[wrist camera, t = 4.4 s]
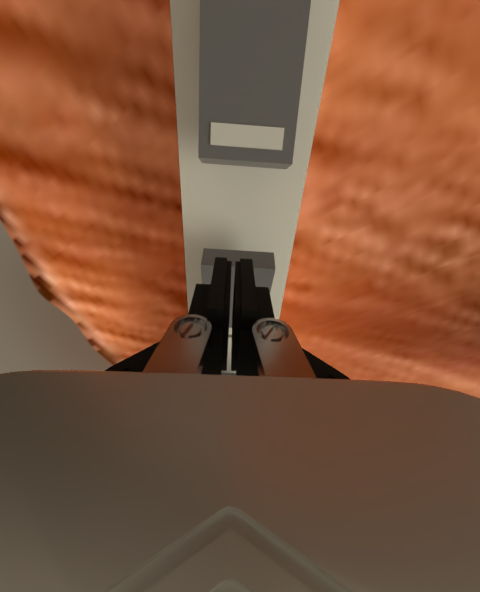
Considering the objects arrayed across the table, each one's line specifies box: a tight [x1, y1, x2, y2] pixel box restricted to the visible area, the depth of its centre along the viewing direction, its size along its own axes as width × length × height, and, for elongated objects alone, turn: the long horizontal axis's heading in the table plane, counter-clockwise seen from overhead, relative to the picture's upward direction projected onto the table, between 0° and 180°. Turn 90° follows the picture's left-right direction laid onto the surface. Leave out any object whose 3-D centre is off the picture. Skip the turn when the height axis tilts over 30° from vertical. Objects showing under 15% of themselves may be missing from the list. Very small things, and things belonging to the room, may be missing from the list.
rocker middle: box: [201, 248, 275, 338], centre depth 17 cm, size 7×4×2 cm, turn 176°
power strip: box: [170, 0, 340, 373], centre depth 18 cm, size 36×7×5 cm, turn 176°
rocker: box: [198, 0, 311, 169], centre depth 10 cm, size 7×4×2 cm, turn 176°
